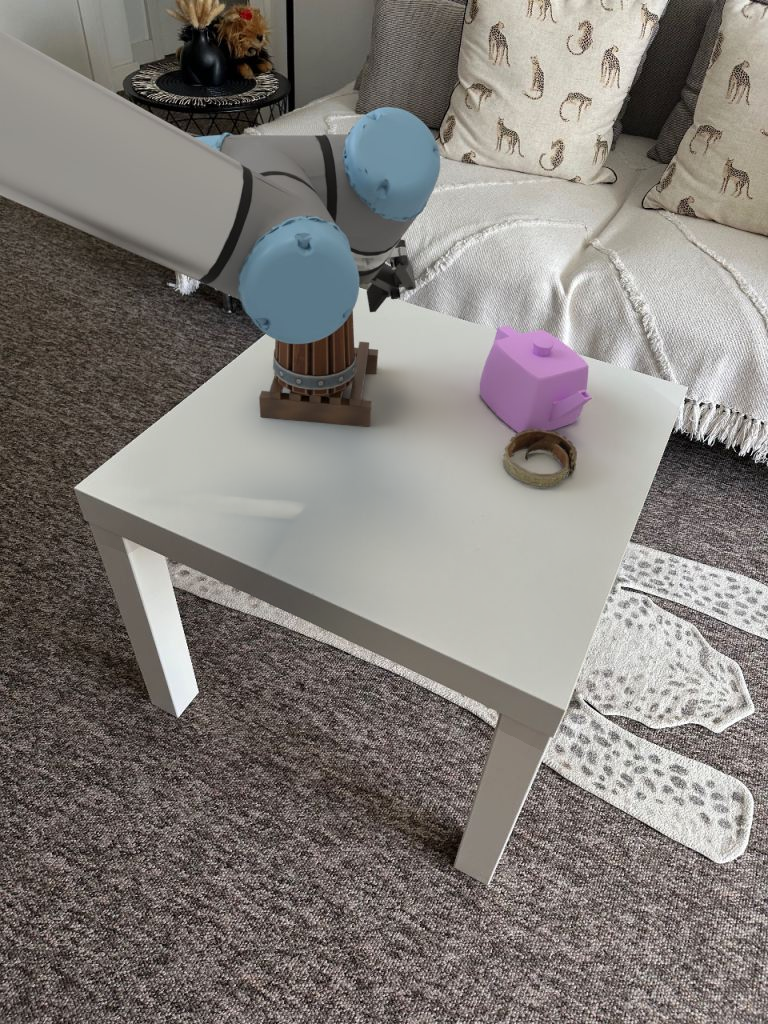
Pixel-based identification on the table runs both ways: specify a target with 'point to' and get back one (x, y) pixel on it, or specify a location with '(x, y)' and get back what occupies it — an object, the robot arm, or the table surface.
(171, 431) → the table surface
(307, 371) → the mug
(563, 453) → the bracelet
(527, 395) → the teapot
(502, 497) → the table surface
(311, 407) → the drying rack
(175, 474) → the table surface
